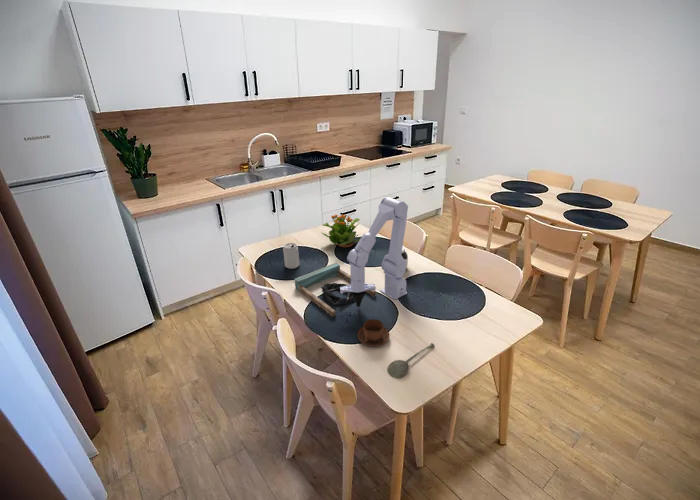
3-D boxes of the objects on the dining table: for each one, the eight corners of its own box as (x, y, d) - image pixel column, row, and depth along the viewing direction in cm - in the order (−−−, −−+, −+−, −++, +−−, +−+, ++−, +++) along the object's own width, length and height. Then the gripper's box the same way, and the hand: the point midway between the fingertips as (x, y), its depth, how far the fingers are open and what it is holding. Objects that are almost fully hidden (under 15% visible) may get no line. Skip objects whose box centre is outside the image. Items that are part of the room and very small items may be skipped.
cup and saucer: (387, 351, 128) (387, 337, 126) (354, 347, 131) (354, 333, 128) (390, 330, 139) (391, 317, 136) (360, 326, 141) (360, 313, 138)
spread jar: (406, 265, 185) (408, 244, 180) (407, 276, 175) (409, 255, 170) (383, 264, 186) (383, 244, 181) (383, 275, 176) (383, 254, 171)
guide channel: (375, 295, 160) (375, 286, 158) (332, 317, 147) (332, 307, 145) (336, 271, 180) (336, 262, 178) (295, 288, 167) (294, 278, 165)
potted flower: (374, 241, 211) (374, 213, 203) (353, 257, 193) (352, 227, 186) (339, 233, 223) (338, 206, 216) (316, 247, 205) (314, 219, 198)
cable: (316, 291, 165) (315, 283, 163) (342, 282, 171) (342, 274, 170) (334, 309, 152) (333, 301, 150) (362, 299, 158) (362, 291, 156)
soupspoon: (382, 372, 121) (396, 384, 116) (383, 365, 119) (397, 377, 115) (426, 342, 133) (440, 352, 128) (426, 335, 131) (441, 345, 126)
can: (298, 269, 183) (296, 248, 178) (283, 269, 183) (281, 248, 178) (300, 262, 190) (298, 242, 184) (286, 262, 190) (284, 242, 185)
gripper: (373, 271, 150) (373, 298, 156) (338, 274, 148) (340, 301, 154) (376, 279, 143) (376, 307, 149) (340, 283, 142) (341, 311, 148)
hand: (358, 305), depth 151 cm, fingers closed
